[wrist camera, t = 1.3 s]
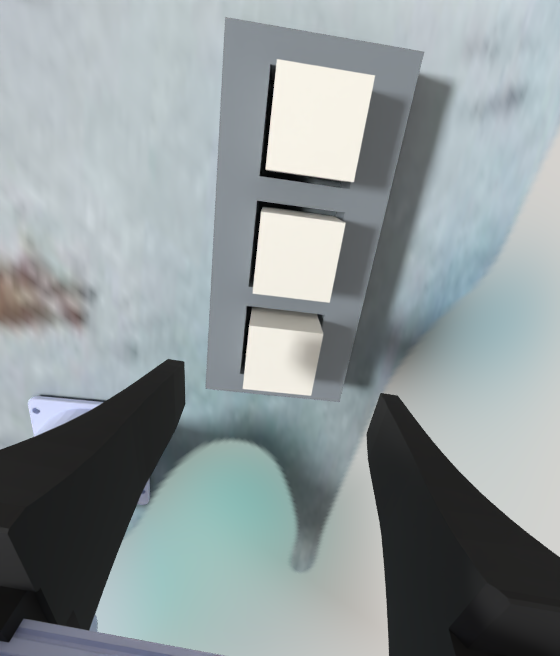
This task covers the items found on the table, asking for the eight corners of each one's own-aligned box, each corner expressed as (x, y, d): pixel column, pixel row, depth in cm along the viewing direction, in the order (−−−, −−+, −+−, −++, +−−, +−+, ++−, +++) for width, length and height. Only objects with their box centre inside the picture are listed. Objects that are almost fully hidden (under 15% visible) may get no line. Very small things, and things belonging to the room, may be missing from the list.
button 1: (306, 368, 22) (311, 395, 19) (246, 361, 22) (242, 388, 19) (316, 312, 20) (323, 333, 18) (252, 305, 20) (249, 325, 17)
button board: (333, 380, 24) (339, 402, 22) (212, 368, 23) (205, 388, 21) (403, 68, 17) (424, 51, 15) (232, 39, 16) (225, 17, 14)
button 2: (341, 181, 17) (353, 182, 15) (266, 170, 17) (265, 169, 14) (357, 92, 16) (375, 75, 13) (276, 79, 16) (276, 59, 13)
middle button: (321, 285, 20) (329, 302, 17) (255, 277, 19) (252, 293, 17) (334, 216, 18) (345, 222, 15) (262, 206, 18) (261, 211, 15)
